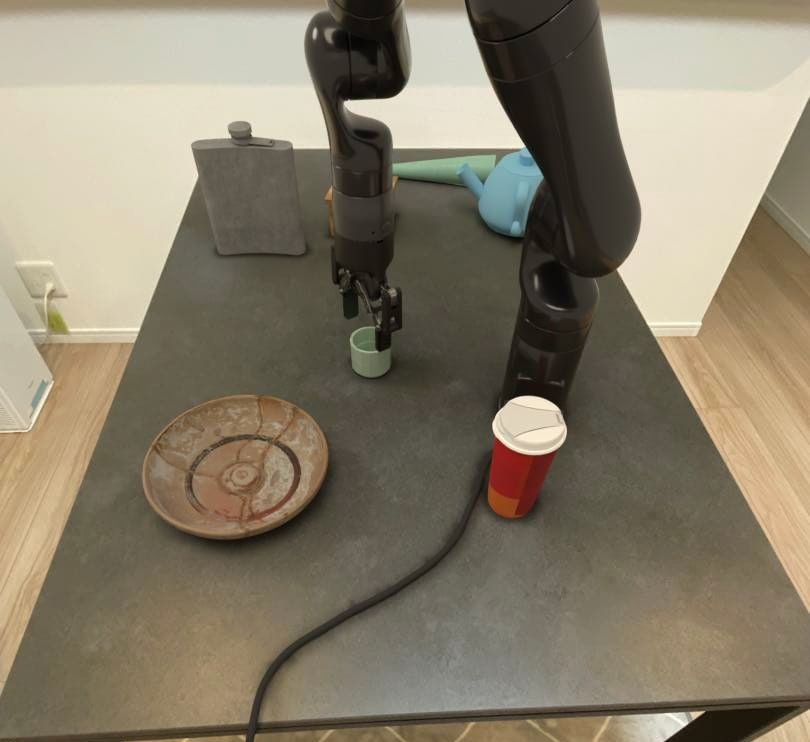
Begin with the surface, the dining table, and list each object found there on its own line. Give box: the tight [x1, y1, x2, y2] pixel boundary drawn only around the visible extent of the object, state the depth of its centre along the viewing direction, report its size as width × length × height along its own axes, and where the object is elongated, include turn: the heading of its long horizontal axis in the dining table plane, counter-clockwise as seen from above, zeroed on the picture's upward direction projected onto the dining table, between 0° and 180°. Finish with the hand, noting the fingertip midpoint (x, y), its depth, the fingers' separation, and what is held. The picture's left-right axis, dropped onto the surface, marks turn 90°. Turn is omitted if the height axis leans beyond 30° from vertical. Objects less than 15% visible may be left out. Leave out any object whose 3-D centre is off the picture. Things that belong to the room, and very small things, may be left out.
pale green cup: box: [349, 326, 392, 379], centre depth 91 cm, size 6×6×5 cm
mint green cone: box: [393, 154, 497, 187], centre depth 122 cm, size 5×6×27 cm
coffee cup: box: [487, 396, 568, 519], centre depth 73 cm, size 8×8×15 cm
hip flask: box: [190, 120, 307, 256], centre depth 101 cm, size 16×4×20 cm, turn 91°
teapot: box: [456, 146, 543, 238], centre depth 111 cm, size 20×20×13 cm
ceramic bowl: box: [141, 394, 329, 540], centre depth 78 cm, size 23×24×5 cm
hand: (366, 332), depth 87 cm, fingers open, 8 cm apart
